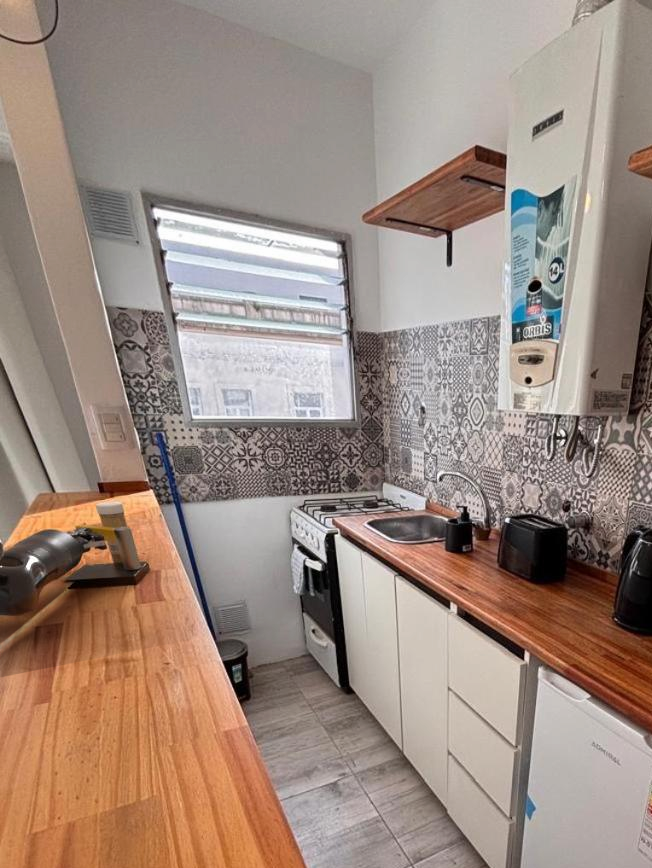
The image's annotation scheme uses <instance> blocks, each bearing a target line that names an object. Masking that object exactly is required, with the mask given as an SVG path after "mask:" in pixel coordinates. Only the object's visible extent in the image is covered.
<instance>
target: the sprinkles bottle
mask: <svg viewBox="0 0 652 868" xmlns="http://www.w3.org/2000/svg"><path fill="white" fill-rule="evenodd" d="M95 508H96V512H97V514H98V516H99V518H100V521H101V522H100V523H101V526H103V527H111V528H118V527H128V523H127V521H126V517H125V508H124V505H123V502H121V501H104V502H98V503H96V504H95ZM106 545H107V548H108V550H109V553H110V556H111V559H112V563H123V562H122V558H121V554H120V551H119V547H118V544H117V542H111V541H106Z"/></svg>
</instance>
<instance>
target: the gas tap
mask: <svg viewBox="0 0 652 868" xmlns="http://www.w3.org/2000/svg"><path fill="white" fill-rule="evenodd" d="M74 527H75V530H76V529H78V528H86V527H88V529H89V530H91V531H93V532H96V533H98V534H100V535H103V536H104V539H105V542H107V541H111V542H117V544H118V547H119V551H120V554H121V558H122V562H123V565H124V569H125V570H137V569H140V568H141V565H140V562H141V561H140V558H139V554H138V551H137V547H136V543H135V539H134V536H133V532H132V528H131V527H130V526H127V527H118V528H111V527H103V526H102V525H94V524H85V523H82V524H81V523H80V524H78V525H75V526H74Z"/></svg>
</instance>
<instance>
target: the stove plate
mask: <svg viewBox="0 0 652 868" xmlns="http://www.w3.org/2000/svg"><path fill="white" fill-rule="evenodd" d="M139 562H140V565H141V568H140V569H137V570H125V569H124V565H123V563H113V562H110V563H109V562H108V563H92V564H91V563H90V564H83V565H82V566H81V567H80V568H78V569H77V570H76V571H75V572H74V573H72V574H71V575H70V576H68V577H67V578H66V579H65V580H64V582H66V583H68V582H73V583H71V584H70V585H69V586H67V589H68V590H76V589H91V588H105V587H106V588H107V587H123V586H136V585H138V584H139V583H140V582H141V581H142V580H143V578H144V577H145V576H146V575H147V573H149V571H150V570H151V567H150V564H149V561H148V560H146V561H145V560H144V561H139Z"/></svg>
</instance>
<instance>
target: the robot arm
mask: <svg viewBox="0 0 652 868" xmlns="http://www.w3.org/2000/svg"><path fill="white" fill-rule="evenodd" d="M91 548H94V550H101V551H105V550H108V545H107V541H105V539H104V536H103V535H100V534H98V533H96V532H93V531H91V530H89V529H88V527H86V528H78V529H76V528H75V529H74V530H67V531H62V530H59V529H54V528H53V529H51V528H50V529H49V528H48V529H43V530H40V531H38V532H36V533H33V534H31V535H29V536H27V537H25V538H23V539H21V540H19V541H18V542H16V543H14V545H13V546H11V547H9V548H8V549H5V547H4V544H3V542H2V540H1V538H0V616H2V617H3V616H5V617H19V616H24V615H26V614H29V613H31V612H32V611H34V610H35V608H36V607H37V606H38V604H39V599H40V596H41V594H42V591H43V589H44V588H45V587H46V586H47V585H49V584H50V583H53V582H55V581H57V580H58V579H61V578H62V577H63V576H65V575H66V574H67V573H69V572H70V571H71V570H73V569H74V568H76V567H77V566H78V565H79V564H80V562H81V560H82V558H83V554H85V553H88V552H90V551H91Z"/></svg>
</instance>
